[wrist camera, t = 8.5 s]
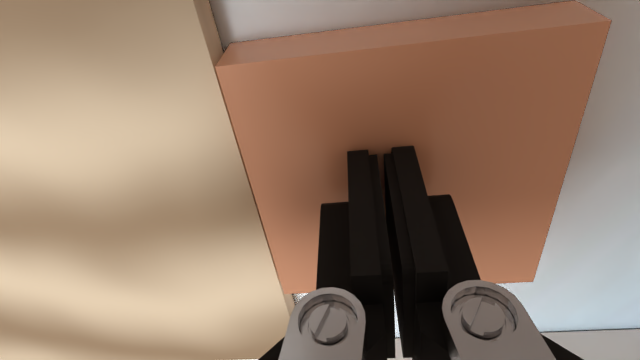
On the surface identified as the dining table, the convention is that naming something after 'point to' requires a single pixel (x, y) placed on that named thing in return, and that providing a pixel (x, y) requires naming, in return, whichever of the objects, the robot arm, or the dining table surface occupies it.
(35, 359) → the beige square board
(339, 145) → the tile
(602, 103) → the dining table surface
